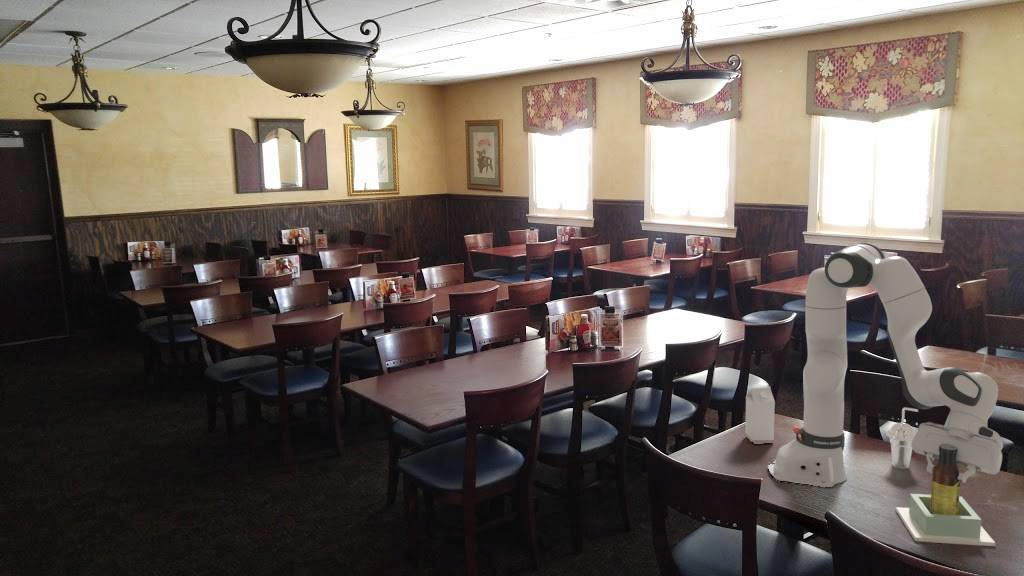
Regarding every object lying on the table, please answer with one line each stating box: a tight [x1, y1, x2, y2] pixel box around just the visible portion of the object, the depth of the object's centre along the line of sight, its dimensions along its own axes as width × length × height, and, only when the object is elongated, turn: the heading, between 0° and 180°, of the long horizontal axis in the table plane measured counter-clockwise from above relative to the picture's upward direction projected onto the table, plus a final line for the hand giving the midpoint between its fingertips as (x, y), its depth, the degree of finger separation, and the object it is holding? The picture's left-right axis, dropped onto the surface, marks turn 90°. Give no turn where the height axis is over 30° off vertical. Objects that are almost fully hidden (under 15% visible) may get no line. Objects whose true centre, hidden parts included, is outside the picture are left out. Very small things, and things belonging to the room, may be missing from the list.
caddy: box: [895, 493, 996, 547], centre depth 188 cm, size 18×16×6 cm
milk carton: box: [744, 386, 776, 441], centre depth 246 cm, size 7×7×19 cm
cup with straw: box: [886, 407, 920, 470], centre depth 223 cm, size 8×9×20 cm
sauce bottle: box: [930, 444, 961, 516], centre depth 186 cm, size 7×6×20 cm
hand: (945, 476), depth 185 cm, fingers closed on sauce bottle, 6 cm apart
